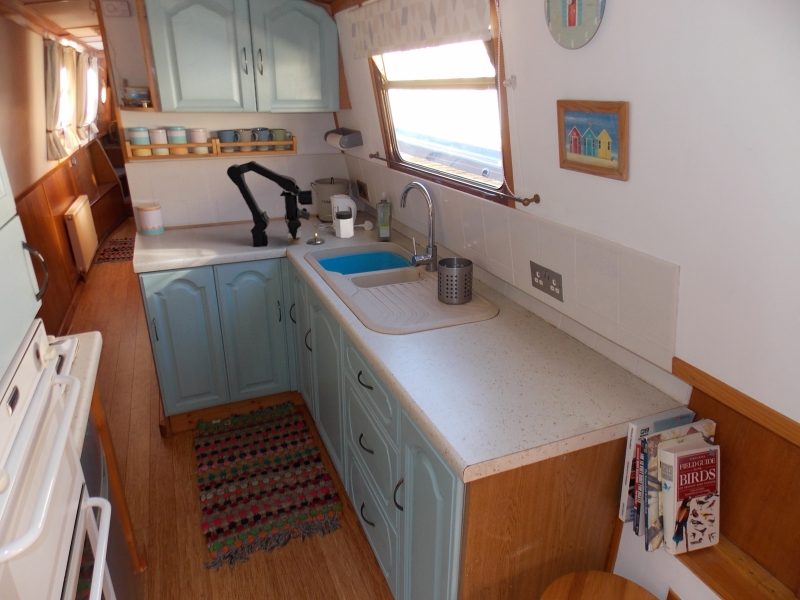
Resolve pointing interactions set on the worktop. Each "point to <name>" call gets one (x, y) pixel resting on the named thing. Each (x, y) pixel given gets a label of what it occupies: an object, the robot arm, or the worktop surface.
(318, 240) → the hub
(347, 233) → the jar
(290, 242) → the stand
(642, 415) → the worktop surface
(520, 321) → the worktop surface
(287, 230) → the square frame block
